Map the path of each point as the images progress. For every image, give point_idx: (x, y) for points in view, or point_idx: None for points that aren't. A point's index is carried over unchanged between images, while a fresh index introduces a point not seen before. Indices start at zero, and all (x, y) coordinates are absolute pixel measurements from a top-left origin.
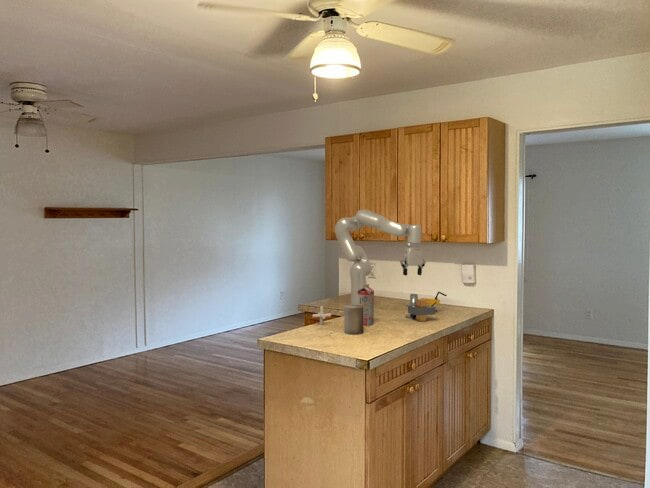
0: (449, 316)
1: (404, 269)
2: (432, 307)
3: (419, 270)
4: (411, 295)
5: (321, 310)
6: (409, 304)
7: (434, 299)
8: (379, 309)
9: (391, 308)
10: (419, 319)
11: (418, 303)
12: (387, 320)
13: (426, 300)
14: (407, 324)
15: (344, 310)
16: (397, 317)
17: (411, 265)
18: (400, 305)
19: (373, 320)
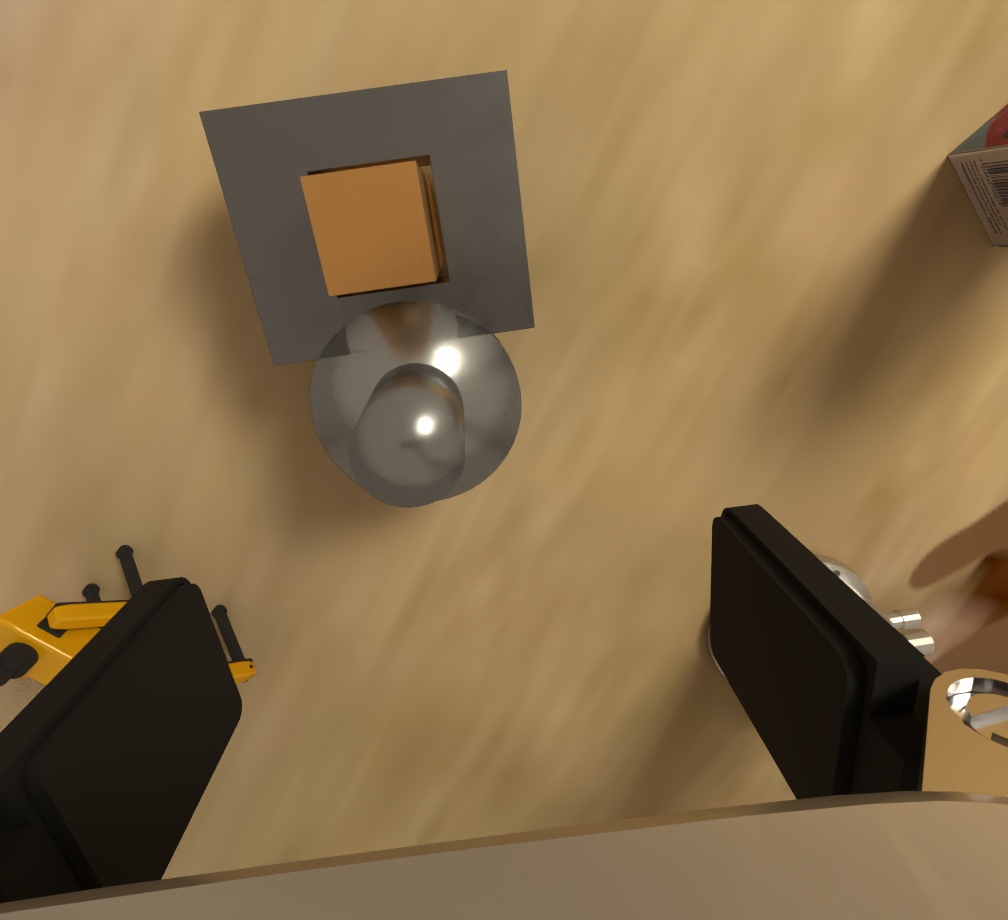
0: (17, 366)
1: (930, 685)
2: (254, 111)
3: (126, 752)
4: (460, 429)
5: None
6: (472, 416)
7: (43, 654)
8: (547, 740)
9: (438, 762)
10: (433, 203)
11: (430, 229)
12: (720, 311)
13: (305, 178)
14: (641, 51)
15: (920, 631)
16: (563, 424)
17: (773, 803)
18: (320, 847)
19: (984, 147)
